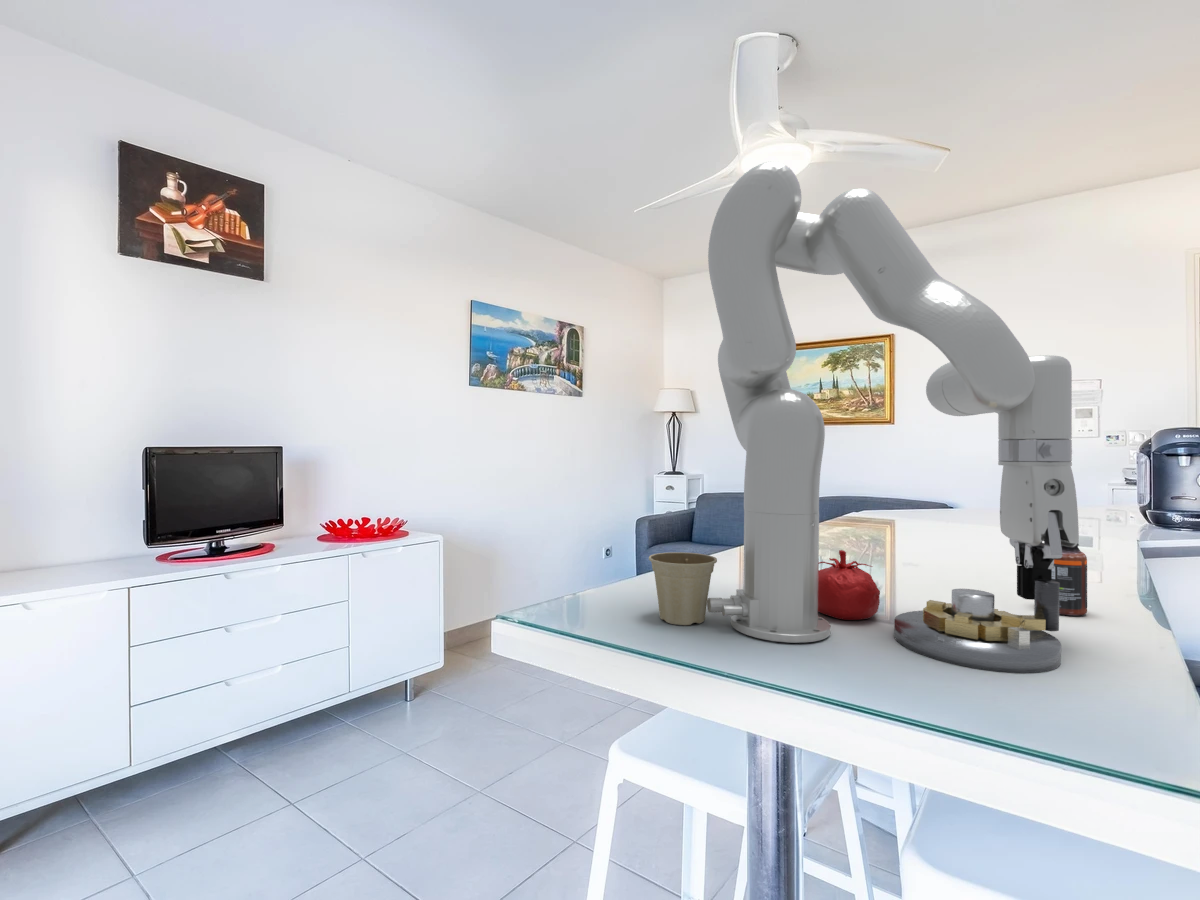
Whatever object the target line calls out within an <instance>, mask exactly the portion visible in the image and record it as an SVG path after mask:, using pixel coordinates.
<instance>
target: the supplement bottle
mask: <svg viewBox="0 0 1200 900" xmlns="http://www.w3.org/2000/svg"><path fill="white" fill-rule="evenodd" d="M1079 546H1080V544H1079V543H1078V544H1077V545H1076V546H1074V547H1066V546H1062V545H1061V547H1062V558H1058V559H1054V567H1053V569H1052V581H1056V582H1059V615H1062V616H1070V617H1074V616H1075V617H1077V616H1083V615H1086V614H1087V612H1088V559H1087V555H1086V554H1085V552H1083V551H1081V550H1080V548H1079Z"/></svg>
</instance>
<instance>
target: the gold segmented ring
mask: <svg viewBox="0 0 1200 900" xmlns="http://www.w3.org/2000/svg"><path fill="white" fill-rule="evenodd" d="M1033 601H1034V604H1033V606H1034V608H1033V609H1034V610H1033V611H1034V612H1033V615H1032V614H1031V615H1030V614H1028V615H1027V614H1025V615H1024V614H1022V615H1021V614H1014V613H1010V612H1008V611H1005V610H999V609H997V608H994V622H990V621H974V620H972V619H973V615H972V614H967V613H961V612H958V613H957V614H955V617H953V616H951V608H952V602H951V603H947V602H944V601H939V600H934V599H928V600H927V601H926V606H925V607H923V609H922V611H923V621H924V623H925V624H927V625H929V626H931V627H933V628H934V629H936V630H938V631H945V633H948V634H953V635H957V636H962V637H967V638H972V639H977V640H978V639H979V638H981V639H983V640H985V641H1008V628H1009V627H1020V628H1023V629H1026V630H1042V631H1045V632H1046V631H1047V632H1058V631H1059V630H1060V614H1059V582H1056V581H1052V580H1043V579H1036V580H1035V596H1034V600H1033Z"/></svg>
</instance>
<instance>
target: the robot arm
mask: <svg viewBox="0 0 1200 900" xmlns="http://www.w3.org/2000/svg"><path fill="white" fill-rule="evenodd" d="M801 189H802V188H801V184H800V181H799V179H798V177H797V176H796V174H795V172H794V171H793V170H792V169H791V168H790V167H789V166H788V165H786V164H784V163H781V162H779V161H766V162H762V163H760V164H758V165H756V166H753V167H752V168H751V169H749V170H747V171H746V172H745V173H744V174H743V175H741V176H740V177H739V178H738V179H737V180H736V182H734V184H733V185H732V186H731V187H730V188H729V190H728V191H727V192H726V194H725V196H724V197H723V198H722V200H721V203H720V205H719V207H718V209H717V211H716V213H715V216H714V219H713V222H712V226H711V231H710V233H709V235H710V236H709V242H708V249H707V250H708V252H707V253H708V255H707V258H708V259H707V262H708V263H707V264H708V272H709V273H708V274H709V279H710V284H711V289H712V293H713V299H714V303H715V307H716V311H717V315H718V316H717V317H718V321H719V324H720V328H721V332H722V333H721V335H722V340H721V343H720V345H719V349H718V353H717V365H718V372H719V377H720V380H721V384H722V389H723V393H724V395H725V399H726V403H727V407H728V412H729V414H730V418H731V422H732V425H733V428H734V432H735V435H736V438H737V440H738V442H739V444H740V446H741V447H742V448H743V449H744V450H745V453H746V454H745V466H744V480H743V481H744V485H743V576H742V577H743V587H742V589H740V588H739V589H735V591H736V592H735V593H736V595H733V594H732V595H730V596H729V598H728V597H727V598H722V597H708V599H707V606H706V609H707V612H708V613H710V614H711V613H712V614H713V613H722V616H725V617H727V616H729V617H730V624H731V626H732V628H733V629H734V630H735V631H737V632H740V633H741V634H744V635H747V636H748V637H753V638H755V639H760V640H764V641H771V642H778V643H792V644H793V643H795V644H798V643H799V644H803V643H814V642H819V641H820V642H821V641H822V640H825V639H826V638H829V636H830V635H831V633H832V632H831V629H832V628H831V624H830V623H831V622H829V621H828V620H827V619H825V618H823V617H822V616H819V612H818V573H819V570H820V569H819V568H820V567H819V565H820V564H819V562H820V559H819V558H820V557H819V556H820V555H819V553H820V551H819V549H820V548H819V547H820V482H821V472H822V471H821V469H822V462H823V455H824V448H825V436H826V433H825V432H826V430H825V429H826V428H825V422H824V417H823V415H822V412H821V410H820V407H819V406H818V405H817V403H816V402H815V401H814V400H813V399H812V398H811V397H809V395H807V394H805V393H804V392H801V391H799V390H795V389H791V384H790V381H789V377H788V372H787V371H788V370H789V369H790V367H791V366H792V364H793V362H794V360H795V358H796V354H797V343H796V338H795V335H794V332H793V329H792V327H791V325H792V324H791V323H790V319H789V316H788V312H787V308H786V305H785V301H784V298H783V293H782V291H781V286H780V282H779V277H778V272H777V268H781V269H786V270H791V271H797V272H802V273H807V274H814V275H815V274H816V275H823V276H837V275H842V274H844V275H845V277H846V279H847V280H848V281H849V282H850V283H851V285H852V286H853V288H854V289H855V290H856V292H857V293H858V294H859V296H860V297H861V299H862V300H863V302H864V303H865V305H866V306H867V307H868V310H870V312H871V313H872V315H874V316H875V318H877V319H878V320H881V321H882V322H885V323H887V324H890V325H894V326H898V327H901V328H903V329H907V330H909V331H913V332H915V333H917V334H919V335H920V336H922V337H924V338H925V339H927V340H928V341H929V342H931V344H933V345H934V346H935V347H936V348H937V349H938V350H939V351H940V352H941V353H942V354H943V355H944V357H945V358H946V359H948V361H949V362H947V363H945V364H943V365H941V366H940V367H938V368H937V369H936V370H935V371H933V373H931V375H930V377H929V378H928V379H927V382H926V386H925V393H926V397H927V400H928V401H929V404H930V405H931V406H932V407H933V408H934V409H936V410H937V411H938V412H940V413H943V414H945V415H949V416H954V417H969V416H975V415H976V416H977V415H983V414H984V415H985V414H995V413H996V414H997V417H998V419H997V422H998V425H997V426H998V427H997V428H998V429H997V430H998V433H997V434H998V437H997V438H998V441H997V442H998V447H997V448H998V451H997V453H998V461H997V462H998V463H997V464H998V466H1002V473H1001V474H1002V475H1001V480H1000V481H1001V483H1000V496H999V497H1000V498H999V500H1000V501H999V525H1000V531H1001V532H1000V533H1002V534H1003V535H1004V536H1005V537H1006V538H1008V539H1009V541H1008V542H1009V544H1010V546H1011V547H1012V548H1014V558H1015V563H1016V595H1017V596H1018V597H1021V598H1022V599H1024V600H1032V601H1034V596H1035V580H1036V579H1043V580H1052V569H1053V567H1054V559H1058V558H1062V547H1061V545H1062V546H1066V547H1074V546H1076V545H1077V544H1079V540H1080V539H1079V538H1080V537H1079V536H1080V535H1079V534H1080V531H1079V513H1078V512H1079V511H1078V510H1079V509H1078V499H1077V498H1078V497H1077V491H1076V484H1075V478H1074V474H1073V469H1072V465H1073V463H1072V460H1073V458H1072V457H1073V456H1072V454H1073V453H1072V451H1073V445H1072V443H1073V439H1072V438H1073V436H1072V435H1073V434H1072V433H1073V432H1072V431H1073V427H1072V425H1073V424H1072V423H1073V422H1072V419H1073V413H1072V412H1073V410H1072V409H1073V406H1072V405H1073V403H1072V399H1073V398H1072V397H1073V396H1072V394H1073V393H1072V392H1073V391H1072V390H1073V389H1072V388H1073V387H1072V386H1073V385H1072V384H1073V383H1072V382H1073V381H1072V377H1073V376H1072V375H1073V374H1072V373H1073V372H1072V365H1071V362H1070V361H1069V360H1068V359H1067V358H1066V357H1064V356H1060V355H1049V354H1047V355H1031V356H1030V355H1028V354H1027V351H1026V350H1025V348H1024V347H1023V345H1022V344H1021V343H1020V341H1019V340H1018V339H1017V337H1016V336H1015V335H1014V333H1013V332H1012V331H1011V329H1010V328H1009V326H1008V325H1007V324H1006V322H1005V321H1004V320H1003V319H1002V318H1001V317H1000V316H999V315H998V313H997V312H995V310H994V309H993V308H991V307H989V306H988V305H987V304H986V303H984V302H983V301H981V299H978V298H977V297H975V296H973V295H972V294H970V293H968V292H967V291H966V290H964V289H963V288H961V287H960V286H958V285H956V284H954V283H953V282H950V281H949V280H946V279H945V278H944V277H942V276H941V275H939V273H938V272H937V271H936V270H935V269H934V268H933V266H932V265H931V263H930V262H929V261H928V260H927V258H926V257H925V255H924V254H923V252H921V250H920V249H919V247H918V246H917V244H916V243H915V242H914V240H913V238H911V236H910V235H909V233H908V232H907V231H906V229H905V228H904V227H903V225H902V224H901V222H900V221H899V220H898V219H897V217H896V216H895V214H894V213H893V212H892V210H891V209H890V208H889V206H888V205H887V203H885V201H884V200H883V198H881V197H880V196H879V194H877V193H876V192H874V191H873V190H871V189H869V188H862V187H859V188H853V189H849V190H847V191H844V192H843V193H840V194H839V195H838V196H836V197H834V199H832V200H831V201H830V202H829V204H827V205H826V207H824V209H823V210H822V211H821V213H820V214H813V213H806V212H802V211H801V212H800V210H801V206H802V190H801Z"/></svg>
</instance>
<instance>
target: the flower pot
mask: <svg viewBox="0 0 1200 900" xmlns="http://www.w3.org/2000/svg"><path fill="white" fill-rule="evenodd" d="M648 560H649V562H651V569H652V571H653V573H654V581H655V587H656V588H655V589H656V595H657V596H656V597H657V602H658V610H659V611H658V613H659V618H660V620H661V621H665V622H666V623H667V624H671V625H676V626H678V625H679V626H691V625H692V624H695V623H696V624H697V625H699V624H702V623H704V621H705V620H706V613H707V612H706V611H707V600H708V598H709V593H710V592H709V591H710V584H711V577H712V573H713V572H714V567H715V564H716V563H717V562H718V559H717V558H716V557H715V556H714V555H713V556H712V555H710V554H704V553H700V552H699V553H696V552H695V553H694V552H687V551H686V552H685V551H684V552H683V551H681V552H680V551H679V552H678V551H676V552H675V551H673V552H658V553H654V554H651V555H649V557H648Z"/></svg>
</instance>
